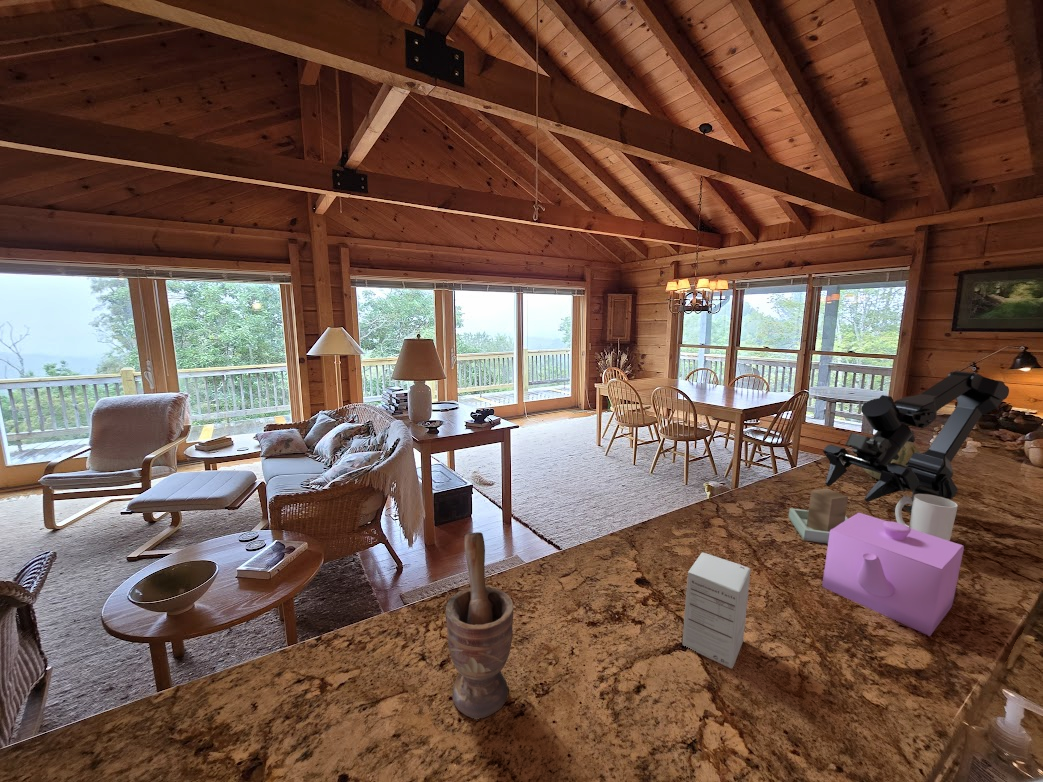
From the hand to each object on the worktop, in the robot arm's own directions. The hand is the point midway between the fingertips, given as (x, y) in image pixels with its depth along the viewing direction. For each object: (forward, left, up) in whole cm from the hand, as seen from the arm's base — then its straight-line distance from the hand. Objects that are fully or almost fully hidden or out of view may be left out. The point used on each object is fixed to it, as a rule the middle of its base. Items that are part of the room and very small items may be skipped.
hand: (845, 492), depth 101 cm
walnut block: (+3, -4, -9) cm, 10 cm away
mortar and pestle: (+67, -66, -9) cm, 94 cm away
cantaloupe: (-41, +26, -9) cm, 50 cm away
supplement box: (+49, -34, -10) cm, 60 cm away
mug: (+5, +13, -9) cm, 17 cm away
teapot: (+28, -3, -10) cm, 30 cm away
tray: (+3, -4, -9) cm, 11 cm away
